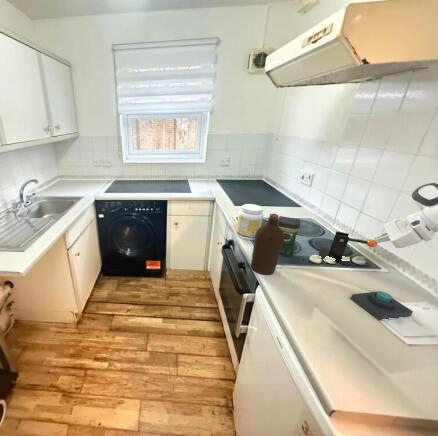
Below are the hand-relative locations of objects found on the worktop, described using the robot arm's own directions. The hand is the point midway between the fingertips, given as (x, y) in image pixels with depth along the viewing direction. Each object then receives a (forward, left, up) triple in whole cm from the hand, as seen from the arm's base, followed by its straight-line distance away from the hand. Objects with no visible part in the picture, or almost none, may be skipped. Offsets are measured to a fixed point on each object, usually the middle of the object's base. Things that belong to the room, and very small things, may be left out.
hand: (375, 240), depth 99 cm
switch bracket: (+8, -7, -13) cm, 17 cm away
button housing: (+19, +22, -13) cm, 32 cm away
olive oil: (+45, -5, -13) cm, 47 cm away
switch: (+4, -4, -3) cm, 7 cm away
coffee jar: (+29, -15, -13) cm, 35 cm away
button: (+19, +22, -9) cm, 30 cm away
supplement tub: (+35, -35, -13) cm, 51 cm away
